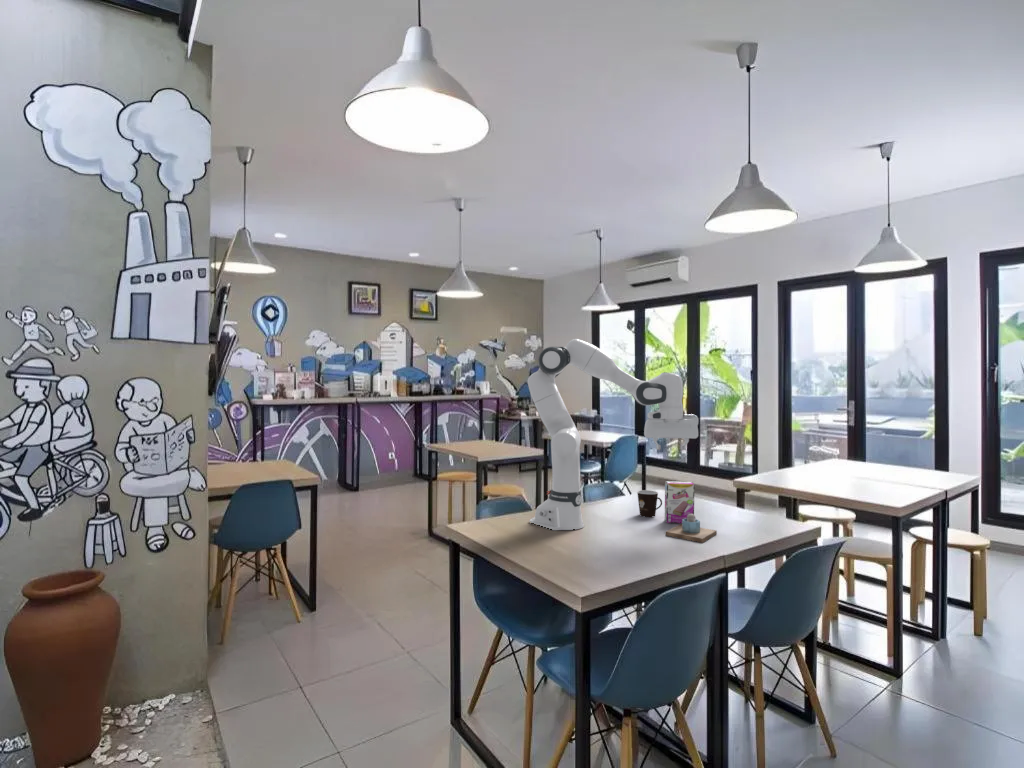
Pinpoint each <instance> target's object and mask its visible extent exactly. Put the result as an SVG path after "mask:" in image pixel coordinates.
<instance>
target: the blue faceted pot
mask: <svg viewBox="0 0 1024 768" xmlns="http://www.w3.org/2000/svg"><path fill="white" fill-rule="evenodd" d="M681 524H682V530H683V532H687V533H699V532H700V528H701V521H700V520H699V519H697V518H695V522H688V521H687V518H685V519H682V523H681Z"/></svg>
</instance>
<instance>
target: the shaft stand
mask: <svg viewBox="0 0 1024 768" xmlns="http://www.w3.org/2000/svg"><path fill="white" fill-rule="evenodd" d="M695 519H696V515H695V513H694V514H688V516H687V521H688V522H695ZM717 532H718V531H717V529H716V530H714V529H710V528H704V527H700V532H699V533H687V532H683V530H682V523H679V524H678V525H676V526H674V527H672V528H670V529H667V530H665V536H666V535H667V536H666V537H670V536H672V538H675V537H677V538H676V539H680V538H682V539H681V540H686V539H687V541H691V540H692V541H691V542H696V541H697V542H696V543H700V544H701V543H702V544H703V543H705V542H706V540H707V541H708V540H710V539H711V537H712V538H713V537H715V536H717V535H716V534H717ZM714 535H715V536H714ZM709 538H710V539H709Z"/></svg>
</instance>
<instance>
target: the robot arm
mask: <svg viewBox="0 0 1024 768" xmlns="http://www.w3.org/2000/svg"><path fill="white" fill-rule="evenodd" d="M538 366H539V368H538V370H537V371H535V372H533V373H532V374H531V375H529V377H528V378H527V385H528V390H529V393H530V396H531V399H532V402H533V403H534V405H535V409H536V411H537V413H538V415H539V417H540V420H541V421H542V424H543V425H544V427H545V429H546V430H547V432H548V434H549V436H550V437H551V439H550V440H551V441H550V448H551V450H550V453H551V468H552V469H551V471H552V475H551V477H552V478H551V479H552V485H551V486H552V489H550V490H547V491H546V495H549V496H548V498H547V499H546V500H544V501H542V503H541V504H539V505H538V506H537V507H536V509H535V513H534V517H531V518H530V519H529V522H531V523H534V524H537V525H540V526H539V527H541V526H543V527H542V528H544V527H546V528H545V529H547V528H549V529H548V530H550V529H552V530H551V531H574V530H573V529H575V530H579V529H583V528H584V527H585V524H584V521H583V515H582V507H581V505H582V490H581V459H580V458H581V457H580V456H581V455H580V451H581V449H580V447H581V442H582V438H581V434H580V432H579V430H578V429H577V426H576V425H575V423H574V420H573V419H572V416H571V415H570V413H569V411H568V409H567V407H566V404H565V402H564V399H563V397H562V396H561V393H560V391H559V388H558V386H557V384H556V378H557V377H558V376H559V375H560V374H561V373H562V372H563V371H564V370H565V369H566V367H568V366H571V367H575V368H577V369H578V370H580V371H582V372H584V373H585V374H587V375H590V376H591V377H594V378H596V379H599V380H604V381H608V382H610V383H613V384H615V385H617V386H618V387H619V388H622V389H623V390H625V391H626V392H628V393H629V394H630V395H631V396H632V398H633V399H634V400H635V402H636V403H638V404H639V405H641V406H645V407H646V406H649V407H650V406H653V405H659V406H658V409H656V410H653V411H650V412H647V419H646V421H645V424H644V428H643V431H644V432H643V435H644V436H645V438H646V439H653V440H652V441H653V442H654V444H655V447H656V448H655V449H656V451H657V450H659V451H660V450H661V448H662V447H661V446H662V445H661V444H659V443H658V442H659V441H658V440H659V439H683V440H684V443H683V444H682V445H680V449H681V451H686V450H687V444H688V443H689V442H690V439H697V438H698V437H699V428H698V426H699V417H698V415H695V414H692V413H691V414H686V413H685V414H684V405H683V396H684V388H683V387H684V385H683V381H682V380H683V379H682V377H681V376H680V375H679V374H676V373H673V372H666V371H665V372H661V373H660V374H659V375H657V376H655V377H653V378H651V379H648V380H641V379H638V378H636V377H634V376H633V375H631V374H629V373H627V372H626V371H624V370H623V369H621V367H620V366H618V365H617V364H616V362H615V361H614V359H613V358H612V357H611V356H610V355H609V354H608V353H606V352H605V351H604V350H602V349H601V348H599V347H598V346H596V345H594V344H593V343H590V342H588V341H585V340H582V339H580V338H572V339H571V340H569V341H568V342H567V344H566V345H565V346H548V347H545V348H544V349H542V351H541V352H540V354H539V355H538ZM657 441H658V442H657ZM531 523H530V524H531ZM534 524H533V525H534ZM537 525H536V526H537Z"/></svg>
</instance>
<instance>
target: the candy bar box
mask: <svg viewBox="0 0 1024 768" xmlns="http://www.w3.org/2000/svg"><path fill="white" fill-rule="evenodd" d="M695 487H696V486H695V483H693V482H691V481H671V480H668V481H666V480H665V482H664V522H665V523H666V524H682V519H685V518H687V516H688V514H694V515H695Z"/></svg>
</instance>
